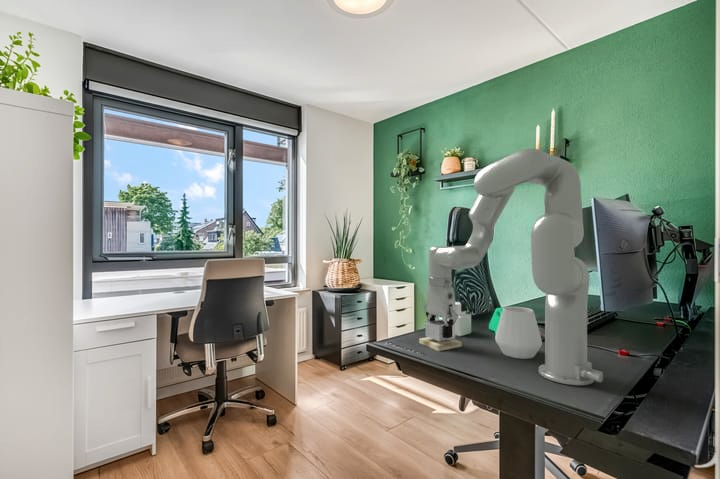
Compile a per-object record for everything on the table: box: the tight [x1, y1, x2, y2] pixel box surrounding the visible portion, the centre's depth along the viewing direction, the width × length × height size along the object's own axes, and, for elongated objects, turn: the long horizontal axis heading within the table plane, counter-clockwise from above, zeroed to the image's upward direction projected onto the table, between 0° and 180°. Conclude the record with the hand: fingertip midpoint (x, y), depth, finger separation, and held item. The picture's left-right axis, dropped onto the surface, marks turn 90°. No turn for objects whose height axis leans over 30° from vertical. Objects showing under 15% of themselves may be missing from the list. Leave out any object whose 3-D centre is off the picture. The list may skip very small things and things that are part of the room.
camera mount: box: [488, 307, 504, 335], centre depth 133 cm, size 12×8×10 cm, turn 13°
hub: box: [424, 318, 456, 341], centre depth 120 cm, size 7×7×5 cm
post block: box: [418, 321, 463, 352], centre depth 120 cm, size 10×10×8 cm
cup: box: [494, 306, 543, 360], centre depth 111 cm, size 13×13×14 cm
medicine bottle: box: [447, 300, 472, 337], centre depth 135 cm, size 7×7×12 cm
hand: (440, 334), depth 120 cm, fingers closed on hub, 7 cm apart
